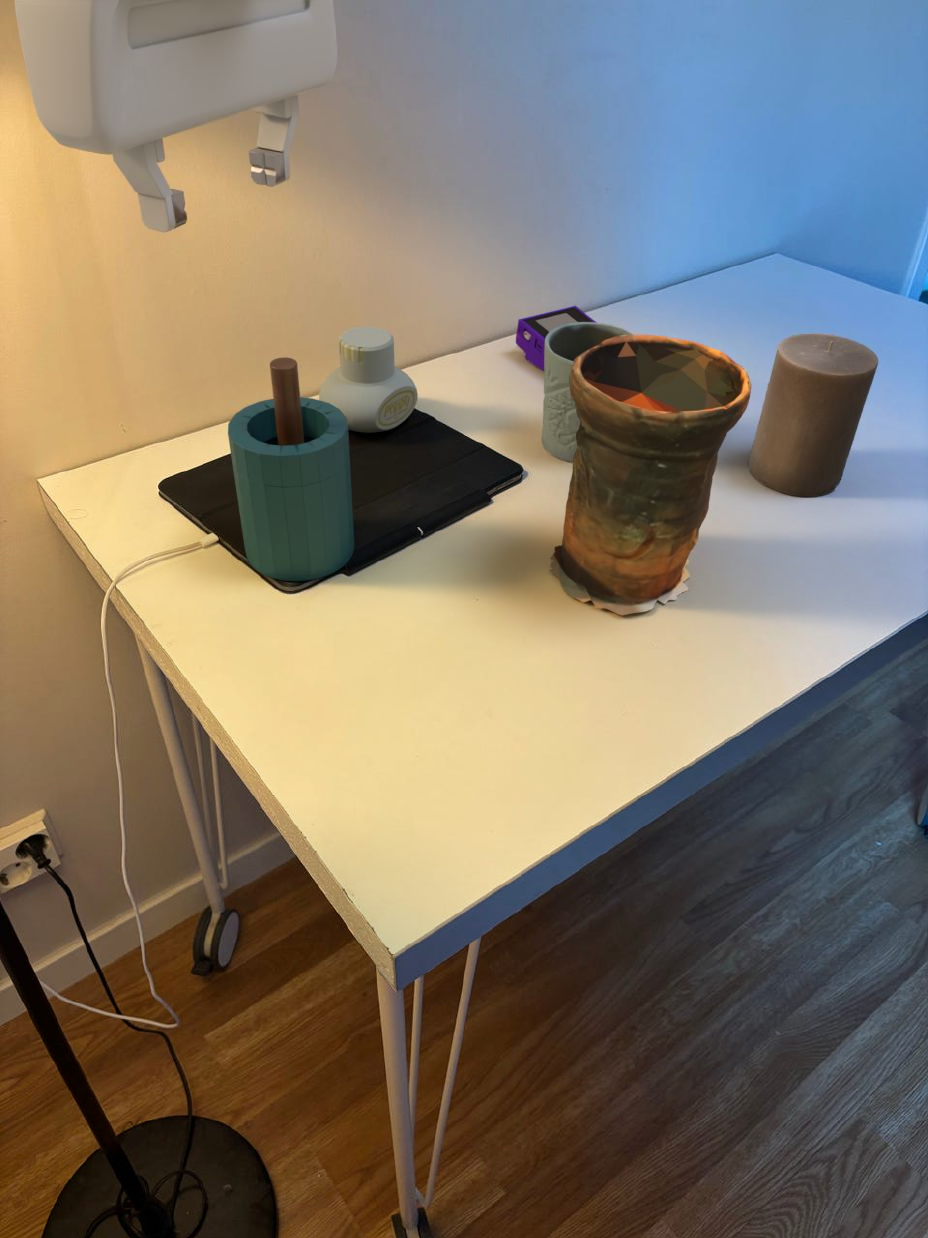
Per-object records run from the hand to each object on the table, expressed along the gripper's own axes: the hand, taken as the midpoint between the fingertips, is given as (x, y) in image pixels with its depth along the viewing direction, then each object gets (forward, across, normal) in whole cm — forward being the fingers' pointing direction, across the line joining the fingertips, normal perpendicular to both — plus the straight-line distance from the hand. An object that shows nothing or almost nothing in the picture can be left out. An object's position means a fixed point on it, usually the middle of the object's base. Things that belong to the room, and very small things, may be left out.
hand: (221, 203), depth 53 cm
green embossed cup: (+36, -46, +9) cm, 59 cm away
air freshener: (+36, -39, -14) cm, 55 cm away
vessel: (+36, -27, +20) cm, 49 cm away
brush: (+35, -15, -8) cm, 39 cm away
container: (+36, -15, -8) cm, 40 cm away
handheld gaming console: (+36, -63, +2) cm, 72 cm away
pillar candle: (+36, -52, +31) cm, 70 cm away
